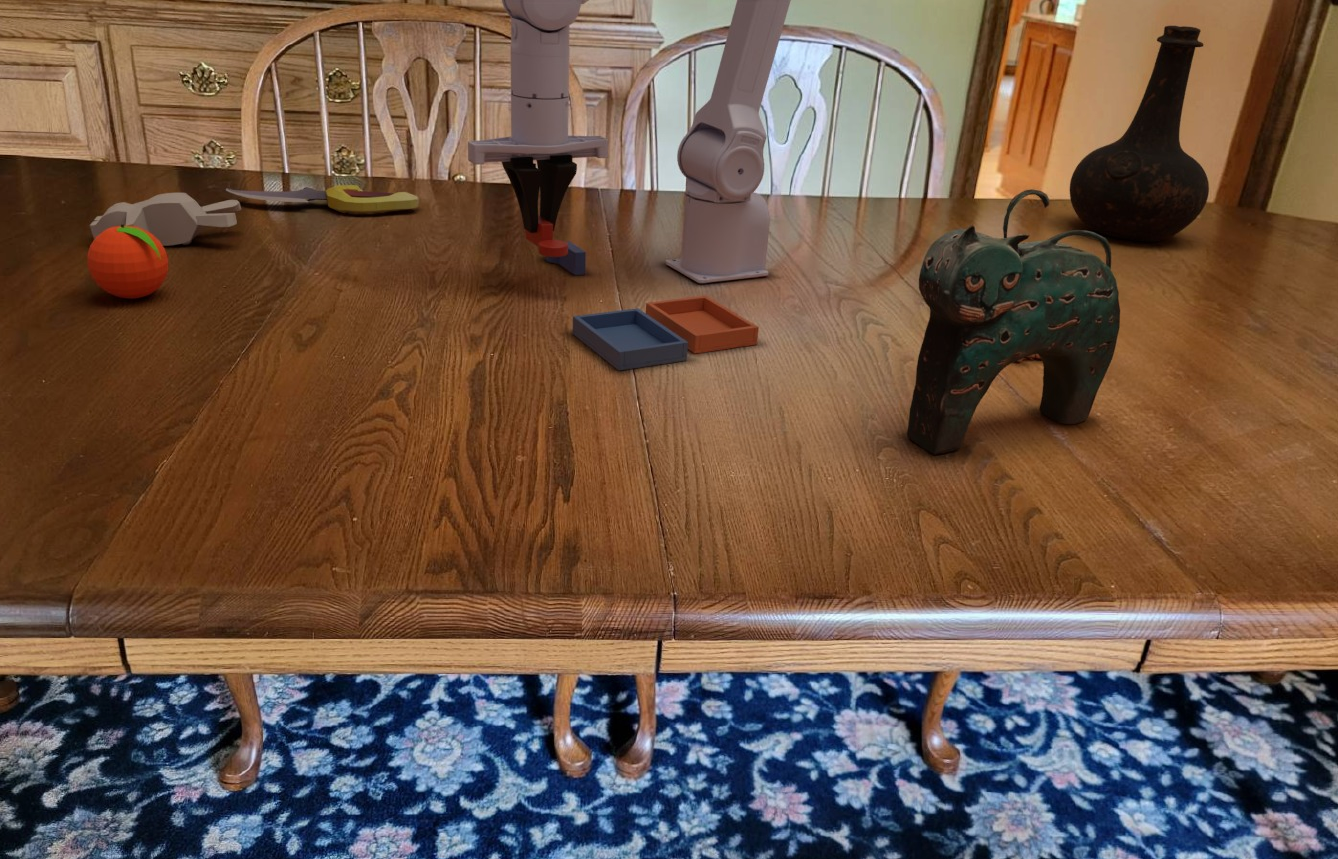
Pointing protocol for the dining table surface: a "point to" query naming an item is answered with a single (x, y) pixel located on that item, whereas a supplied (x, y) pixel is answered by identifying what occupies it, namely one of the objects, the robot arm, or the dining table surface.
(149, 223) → the bunny figurine
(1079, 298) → the ceramic cat
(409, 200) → the knife
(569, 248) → the blue stepped block
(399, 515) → the dining table surface
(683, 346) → the blue tray
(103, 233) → the clementine
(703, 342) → the red tray
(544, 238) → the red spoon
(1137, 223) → the glass bottle
